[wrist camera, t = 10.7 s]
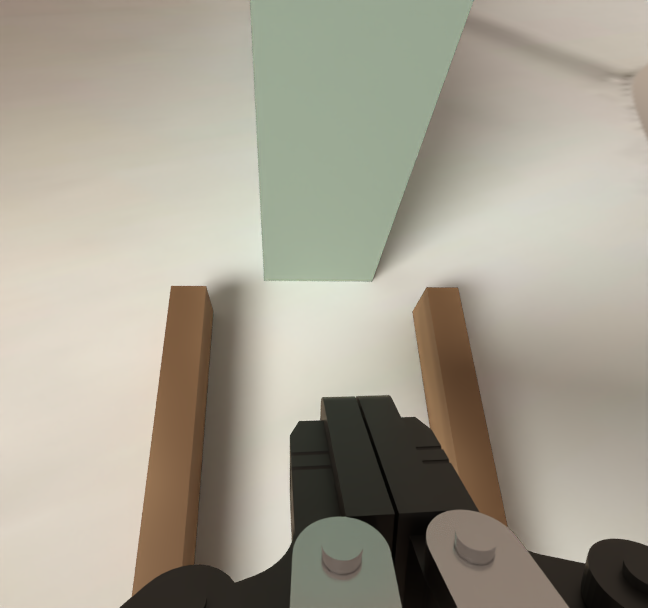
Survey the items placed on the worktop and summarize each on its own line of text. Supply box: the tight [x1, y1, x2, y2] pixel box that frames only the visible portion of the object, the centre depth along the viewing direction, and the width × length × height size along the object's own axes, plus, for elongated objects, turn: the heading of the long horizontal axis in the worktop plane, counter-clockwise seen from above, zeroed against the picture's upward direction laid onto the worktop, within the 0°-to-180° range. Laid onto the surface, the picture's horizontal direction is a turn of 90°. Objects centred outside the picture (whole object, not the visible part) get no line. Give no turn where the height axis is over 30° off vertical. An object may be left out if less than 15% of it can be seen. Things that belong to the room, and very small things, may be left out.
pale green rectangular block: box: [250, 0, 474, 282], centre depth 18 cm, size 4×18×12 cm, turn 2°
